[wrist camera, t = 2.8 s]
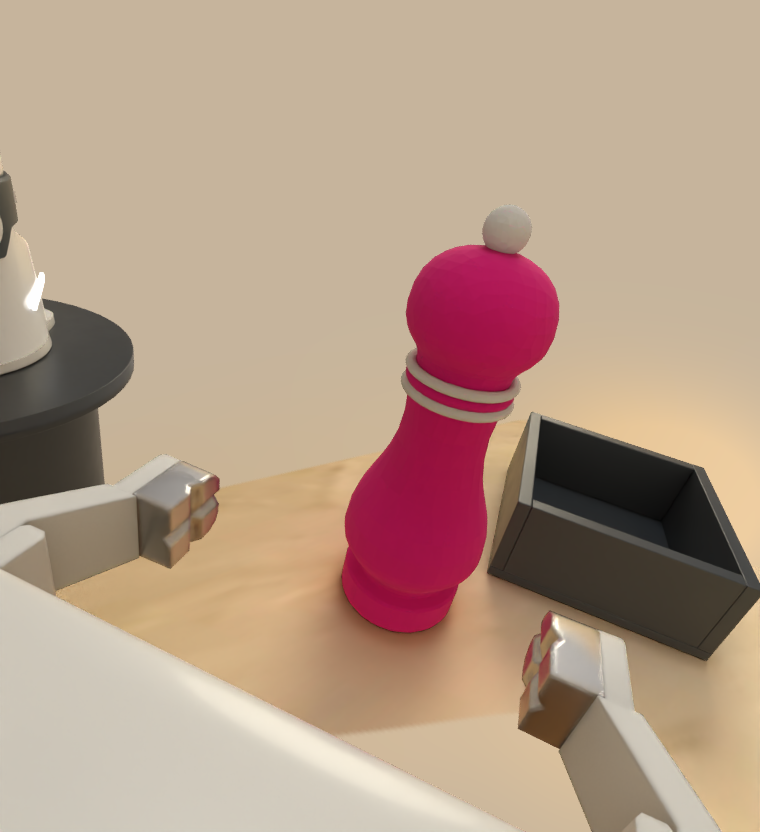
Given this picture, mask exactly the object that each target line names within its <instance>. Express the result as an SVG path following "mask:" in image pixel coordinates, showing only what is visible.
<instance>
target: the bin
mask: <svg viewBox="0 0 760 832" xmlns="http://www.w3.org/2000/svg"><path fill="white" fill-rule="evenodd" d="M487 573H489V574H492V575H494V576H497V577H499V578H502V579H504V580H507V581H509V582H512V583H514V584H517V585H519V586H522V587H524V588H527V589H529V590H532V591H534V592H536V593H539V594H541V595H544V596H546V597H549V598H551V599H554V600H556V601H559V602H561V603H564V604H566V605H569V606H571V607H574V608H576V609H579V610H581V611H584V612H586V613H589V614H591V615H594V616H596V617H599V618H601V619H604V620H606V621H609V622H611V623H614V624H616V625H619V626H621V627H624V628H626V629H629V630H631V631H634V632H636V633H638V634H641V635H643V636H646V637H648V638H651V639H653V640H656V641H658V642H661V643H663V644H666V645H668V646H671V647H673V648H676V649H678V650H681V651H683V652H686V653H688V654H691V655H693V656H696V657H698V658H701V659H703V660H706V661H707V660H708V658H709V657H710V656H711V655H712V654H713V652H714V651H715V650H716V649H717V648H718V646H719V645H720V644H721V643H722V642H723V641H724V639H725V638H726V637H727V636H728V635H729V633H730V632H731V631H732V630H733V629H734V628H735V626H736V625H737V624H738V623H739V622H740V620H741V619H742V618H743V617H744V616H745V615H746V613H747V612H748V611H749V610H750V609H751V607H752V606H753V605H754V604H755V603H756V602H757V600H758V599H759V598H760V583H759V581H758V579H757V577H756V574H755V572H754V570H753V568H752V566H751V564H750V562H749V560H748V558H747V556H746V554H745V552H744V550H743V548H742V546H741V544H740V542H739V540H738V538H737V536H736V533H735V531H734V529H733V528H732V526H731V523H730V521H729V519H728V517H727V515H726V513H725V511H724V509H723V507H722V505H721V503H720V501H719V499H718V497H717V494H716V493H715V490H714V488H713V486H712V484H711V482H710V480H709V478H708V476H707V474H706V472H705V470H704V468H702V467H699V466H696V465H692V464H689V463H686V462H683V461H680V460H677V459H674V458H671V457H668V456H665V455H662V454H659V453H656V452H653V451H650V450H647V449H644V448H641V447H638V446H635V445H632V444H628V443H625V442H622V441H619V440H617V439H613V438H610V437H607V436H604V435H601V434H598V433H595V432H592V431H589V430H586V429H583V428H580V427H577V426H573V425H571V424H568V423H565V422H562V421H559V420H556V419H553V418H550V417H547V416H543V415H542V416H541V415H540V414H537V413H534V412H531V414H530V416H529V419H528V421H527V424H526V426H525V429H524V431H523V433H522V436H521V438H520V441H519V443H518V446H517V448H516V451H515V453H514V456H513V458H512V461H511V463H510V465H509V468H508V471H507V476H506V481H505V486H504V491H503V496H502V501H501V506H500V511H499V516H498V521H497V526H496V531H495V536H494V541H493V546H492V551H491V556H490V561H489V566H488V571H487Z"/></svg>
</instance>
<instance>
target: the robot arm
mask: <svg viewBox="0 0 760 832" xmlns="http://www.w3.org/2000/svg"><path fill="white" fill-rule="evenodd" d="M16 202H17V201H16V195H15V192H14V191H13V188H12V183H11V177H10V176H9V175H8V174H7V173H6V172H5V171H3V167H2V160H1V154H0V375H1V374H5V373H9V372H12V371H15V370H18V369H21V368H23V367H26V366H28V365H30V364H32V363H34V362H36V361H38V360H39V359H41V358H42V357H44V356H45V355H46V354H47V353H48V352H49V350H50V349H51V346H52V340H51V338H50V335H49V330H50V329H51V328H52V327H53V326H54V324H55V320H54V316H53V313H52V312H51V311H49V310H46V309H44V306H43V302H42V298H41V293H42V289H43V286H44V282H45V279H44V273H40V274H39V277H38V281H37V278H36V274H35V270H34V266H33V262H32V258H31V254H30V251H29V247H28V244H27V242H26V241H25V239H24V238H22V237H21V236H20V235H19V234H17V233H16V231H15V230H14V228H13V225H14V224H15V223H17V221H18V217H17V212H16V204H15V203H16ZM218 490H219V478H218V477H217V476H216V475H214V474H212V473H209V472H207V471H205V470H203V469H200V468H198V467H196V466H193V465H191V464H189V463H186V462H184V461H181V460H178V459H176V458H174V457H172V456H169V455H167V454H163V455H159V456H157V457H156V458H154V459H153V460H151V461H150V462H148V463H147V464H145V465H144V466H142V467H141V468H139V469H137V470H136V471H134V472H133V473H131V474H130V475H128V476H127V477H125V478H124V479H122V480H121V481H119V482H118V483H116V484H115V485H113V486H112V485H109V484H103V485H98V486H93V487H88V488H83V489H77V490H72V491H67V492H62V493H57V494H52V495H46V496H41V497H36V498H31V499H26V500H21V501H16V502H10V503H5V504H0V832H526V831H524V830H522V829H520V828H518V827H516V826H514V825H512V824H510V823H508V822H506V821H504V820H502V819H500V818H497V817H496V816H494V815H491V814H489V813H488V812H485V811H484V810H482V809H480V808H478V807H476V806H474V805H472V804H470V803H468V802H465V801H464V800H462V799H459V798H458V797H456V796H454V795H452V794H450V793H447V792H446V791H444V790H442V789H440V788H438V787H436V786H434V785H432V784H430V783H427V782H426V781H424V780H422V779H420V778H417V777H416V776H413V775H412V774H410V773H408V772H406V771H403V770H402V769H400V768H397V767H396V766H394V765H392V764H390V763H388V762H385V761H384V760H381V759H379V758H378V757H375V756H373V755H371V754H369V753H367V752H365V751H363V750H361V749H359V748H357V747H355V746H353V745H351V744H349V743H347V742H345V741H343V740H341V739H339V738H337V737H335V736H333V735H331V734H329V733H327V732H325V731H323V730H321V729H319V728H317V727H315V726H313V725H311V724H309V723H307V722H305V721H303V720H301V719H299V718H297V717H295V716H293V715H291V714H289V713H287V712H285V711H283V710H281V709H279V708H277V707H275V706H273V705H271V704H269V703H267V702H265V701H263V700H261V699H259V698H257V697H255V696H253V695H251V694H249V693H247V692H245V691H243V690H242V689H240V688H238V687H236V686H234V685H232V684H230V683H228V682H226V681H224V680H222V679H220V678H218V677H216V676H214V675H212V674H210V673H208V672H206V671H204V670H202V669H200V668H198V667H196V666H194V665H192V664H190V663H188V662H186V661H184V660H182V659H180V658H178V657H176V656H174V655H172V654H170V653H168V652H166V651H164V650H162V649H160V648H158V647H156V646H154V645H152V644H150V643H148V642H146V641H144V640H142V639H140V638H138V637H136V636H134V635H132V634H130V633H128V632H126V631H124V630H122V629H120V628H118V627H116V626H114V625H112V624H110V623H108V622H106V621H104V620H102V619H100V618H98V617H96V616H94V615H92V614H90V613H88V612H86V611H84V610H82V609H80V608H78V607H76V606H74V605H72V604H70V603H68V602H66V601H64V600H62V599H60V598H58V597H56V592H55V591H57V590H59V589H62V588H64V587H67V586H70V585H72V584H75V583H77V582H80V581H82V580H85V579H87V578H90V577H92V576H95V575H97V574H100V573H102V572H105V571H107V570H110V569H112V568H115V567H117V566H120V565H122V564H125V563H127V562H130V561H132V560H135V559H137V558H139V556H141V557H144V558H146V559H148V560H151V561H153V562H155V563H158V564H160V565H163V566H165V567H167V568H170V569H171V568H172V567H173V566H174V565H175V564H176V563H177V562H178V561H179V560H180V559H181V558H182V557H183V556H184V555H185V554H186V553H187V552H188V551H189V549H190V542H193V541H196V540H199V539H202V538H203V537H204V536H205V535H206V534H207V533H208V532H209V531H210V529H211V527H212V525H213V524H214V522H215V520H216V517H217V514H218V506H219V503H218V502H217V500H216V498H215V496H214V494H215V493H216V492H217V491H218ZM522 680H523V682H524V684H525V686H526V689H525V691H524V693H523V694H522V696H521V698H520V708H519V721H518V729H520V730H522V731H524V732H526V733H528V734H530V735H532V736H534V737H536V738H538V739H540V740H542V741H544V742H546V743H548V744H550V745H552V746H554V747H557V748H559V749H560V750H559V753H560V755H561V758H562V760H563V763H564V765H565V767H566V770H567V773H568V775H569V777H570V780H571V782H572V785H573V787H574V790H575V792H576V794H577V797H578V799H579V802H580V804H581V807H582V809H583V812H584V814H585V816H586V818H587V821H588V824H589V826H590V829H591V831H592V832H722V831H721V830H720V828H719V827H718V825H717V824H716V822H715V821H714V819H713V818H712V816H711V815H710V813H709V812H708V810H707V809H706V807H705V806H704V805H703V803H702V802H701V800H700V799H699V797H698V796H697V794H696V793H695V791H694V790H693V788H692V787H691V785H690V784H689V782H688V781H687V780H686V778H685V777H684V775H683V774H682V772H681V771H680V769H679V768H678V766H677V765H676V763H675V762H674V760H673V759H672V757H671V756H670V754H669V753H668V752H667V750H666V749H665V747H664V746H663V744H662V743H661V741H660V740H659V738H658V737H657V735H656V734H655V732H654V731H653V729H652V728H651V727H650V725H649V724H648V722H647V721H646V719H645V718H644V716H643V715H642V714H640V713H637V712H635V709H634V702H633V695H632V688H631V680H630V673H629V666H628V659H627V652H626V645H625V642H624V641H623V639H621V638H619V637H616V636H613V635H611V634H608V633H606V632H603V631H601V630H596V629H595V628H592V627H590V626H587V625H585V624H582V623H580V622H577V621H575V620H572V619H570V618H567V617H565V616H562V615H560V614H557V613H555V612H552V611H549V612H548V613H547V614H546V615H545V617H544V619H543V621H542V624H541V634H538V635H535V636H534V637H533V639H532V641H531V643H530V645H529V648H528V651H527V654H526V657H525V661H524V666H523V674H522Z"/></svg>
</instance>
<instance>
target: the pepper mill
mask: <svg viewBox="0 0 760 832" xmlns="http://www.w3.org/2000/svg"><path fill="white" fill-rule="evenodd" d="M531 230H532V226H531V221H530V218H529V216H528V215H527V214H526V212H525V211H524V210H523V209H521V208H520V207H517V206H515V205H504V206H501V207H499V208H497V209H495V210H494V211H492V212H491V213H490V214H489V216H488V217H487V218H486V220H485V222H484V226H483V233H482V234H483V239H484V242H485V244H486V245H466V246H459V247H455V248H452V249H449V250H447V251H444V252H443V253H441V254H439V255H437V256H435V257H434V258H433V259H432V260H431V261H430V262H429V263H428V264H426V265H425V266H424V267H423V269H422V270H421V272H420V273H419V275H418V276H417V278H416V279H415V281H414V284H413V286H412V289H411V292H410V295H409V298H408V302H407V309H406V317H407V325H408V328H409V330H410V333H411V335H412V337H413V339H414V341H415V343H416V345H417V348H415V349H413V350H411V351H410V352H409V353H408V355H407V357H406V365H407V367H406V370H405V371H404V372H403V374H402V376H401V383H402V386H403V389H404V390H405V392H406V393H407V400H406V407H405V411H404V414H403V417H402V420H401V423H400V426H399V429H398V430H397V432H396V434H395V436H394V437H393V439H392V441H391V443H390V444H389V445H388V446H387V448H386V449H385V450H384V452H383V453H382V454H381V455H380V456H379V458H378V459H377V460H376V461H375V462H374V463H373V465H372V466H371V467H370V468H369V469H368V470H367V472H366V473H365V474H364V476H363V477H362V479H361V480H360V482H359V484H358V485H357V487H356V489H355V491H354V492H353V494H352V497H351V500H350V503H349V506H348V509H347V512H346V516H345V533H346V538H347V541H348V544H349V547H348V550H347V554H346V558H345V562H344V566H343V571H342V584H343V589H344V592H345V595H346V596H347V598H348V600H349V602H350V604H351V605H352V606H353V607H354V608H355V609H356V610H357V611H358V613H359V614H360V615H361V616H362V617H364V618H365V619H367V620H368V621H370V622H372V623H373V624H375V625H376V626H379V627H382V628H385V629H387V630H390V631H397V632H408V633H411V632H417V631H422V630H426V629H428V628H431V627H433V626H434V625H436V624H437V623H438V622H440V621H441V620H442V619H443V618H444V617H445V616H446V614H447V612H448V610H449V608H450V606H451V604H452V601H453V599H454V596H455V594H456V591H457V588H458V584H459V583H461V582H463V581H464V580H465V579H467V578H468V577H469V576H470V575H471V573H472V572H473V571H474V570H475V568H476V567H477V565H478V563H479V561H480V558H481V555H482V551H483V548H484V544H485V540H486V535H487V510H486V504H485V497H484V490H483V469H484V459H485V455H486V451H487V447H488V443H489V439H490V437H491V434H492V432H493V430H494V428H495V426H496V424H497V421H499V420H502V419H505V418H506V417H508V416H509V415H510V414H511V412H512V410H513V408H514V404H513V400H514V398H515V397H516V396H517V395H518V394H519V392H520V388H521V384H520V381H519V379H518V377H517V376H518V375H519V374H521V373H522V372H524V371H526V370H528V369H530V368H531V367H533V366H534V365H535V364H536V363H538V362H539V361H540V360H542V358H543V357H544V356H545V355H546V353H547V351H548V349H549V347H550V345H551V344H552V342H553V340H554V337H555V333H556V329H557V325H558V321H559V301H558V297H557V294H556V290H555V287H554V286H553V284H552V282H551V280H550V279H549V277H548V276H547V275H546V274H545V273H544V271H543V270H542V269H541V268H540V267H538V266H537V265H536V264H534V263H533V262H532V261H531V260H529V259H527V258H525V257H524V256H522V255H520V254H517V252H519V251H520V250H521V249H523V248H524V247H525V245H526V244H527V242H528V240H529V238H530V236H531Z"/></svg>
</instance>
